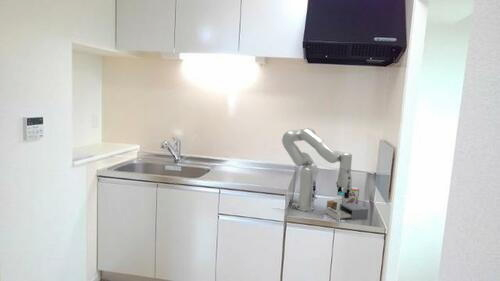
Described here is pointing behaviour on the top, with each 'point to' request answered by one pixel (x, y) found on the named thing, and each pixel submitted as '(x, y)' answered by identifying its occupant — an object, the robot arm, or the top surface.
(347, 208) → the grey low box
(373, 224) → the top surface
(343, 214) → the tray
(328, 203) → the block
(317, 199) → the top surface
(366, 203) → the top surface
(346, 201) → the candy bar box
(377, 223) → the top surface
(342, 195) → the disc
